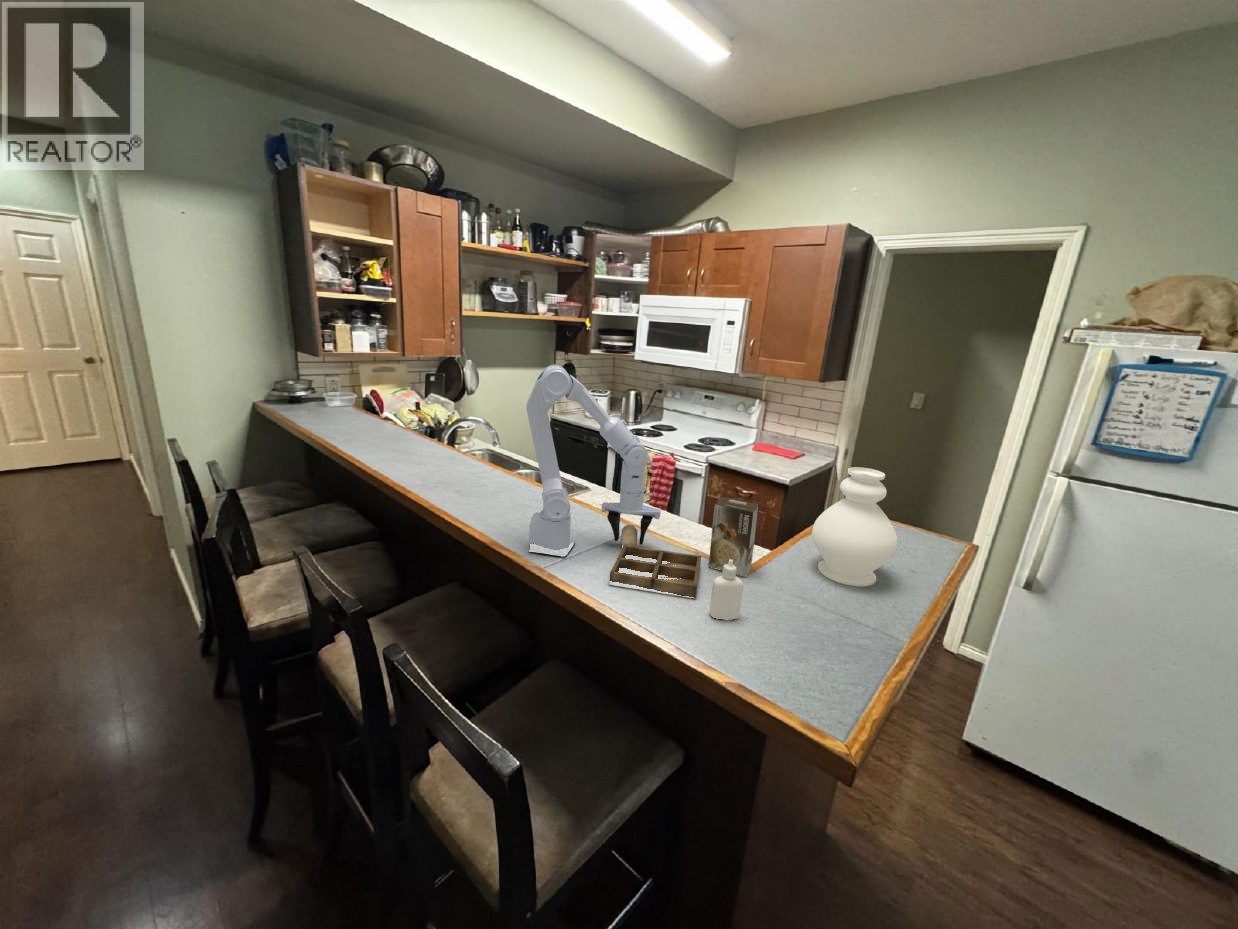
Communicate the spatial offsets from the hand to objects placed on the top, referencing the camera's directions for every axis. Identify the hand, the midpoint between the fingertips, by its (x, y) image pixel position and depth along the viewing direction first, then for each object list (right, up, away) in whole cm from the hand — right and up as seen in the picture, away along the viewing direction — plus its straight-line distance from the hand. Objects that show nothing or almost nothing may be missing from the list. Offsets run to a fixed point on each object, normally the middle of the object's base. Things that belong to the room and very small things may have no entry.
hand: (629, 541), depth 122 cm
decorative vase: (+51, -7, -7) cm, 52 cm away
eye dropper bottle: (+18, -11, -27) cm, 34 cm away
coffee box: (+24, -5, -7) cm, 25 cm away
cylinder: (0, -2, 0) cm, 2 cm away
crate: (+6, -6, -13) cm, 15 cm away
